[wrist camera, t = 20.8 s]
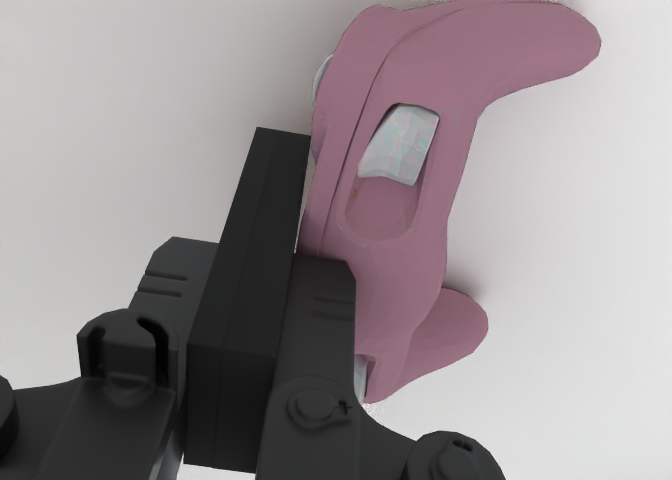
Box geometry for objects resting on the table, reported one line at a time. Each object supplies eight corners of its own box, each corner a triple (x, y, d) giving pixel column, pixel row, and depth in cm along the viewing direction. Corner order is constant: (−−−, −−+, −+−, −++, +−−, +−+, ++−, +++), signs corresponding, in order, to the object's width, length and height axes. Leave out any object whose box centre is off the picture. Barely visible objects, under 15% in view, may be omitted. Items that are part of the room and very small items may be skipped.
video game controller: (429, -50, 15) (257, 3, 10) (623, 3, 14) (540, 100, 8) (358, 271, 21) (227, 412, 16) (489, 333, 19) (392, 511, 14)
